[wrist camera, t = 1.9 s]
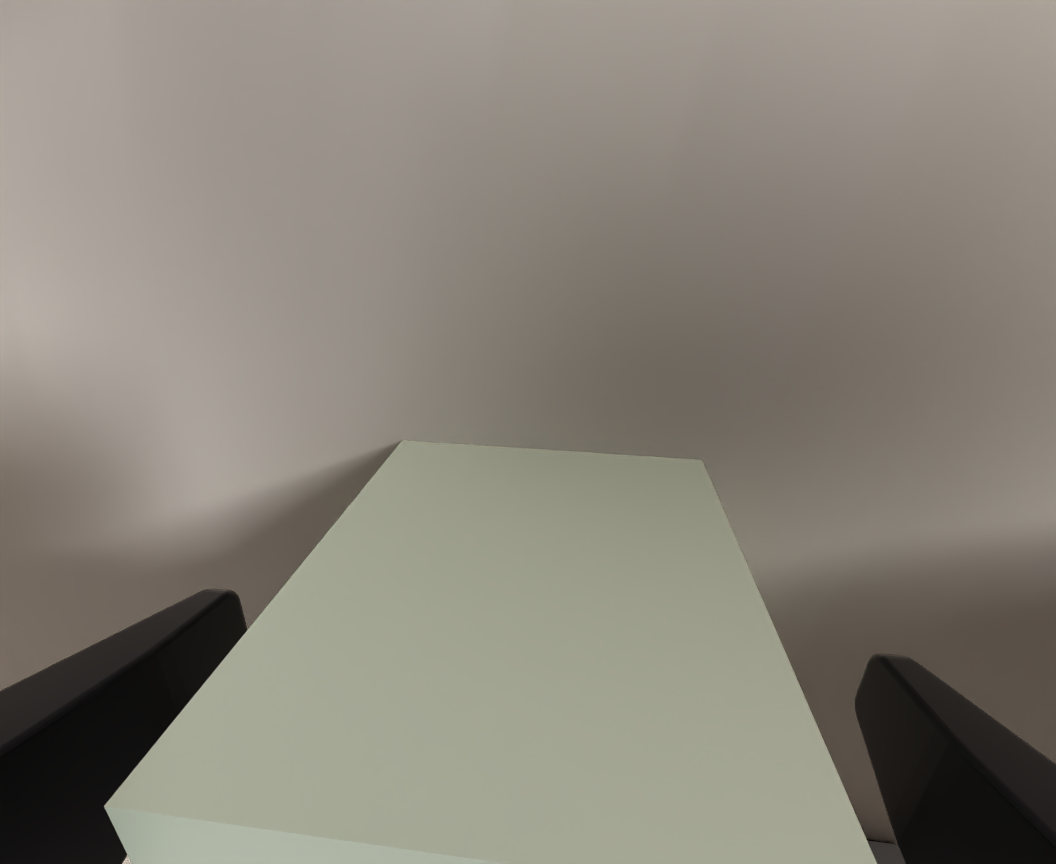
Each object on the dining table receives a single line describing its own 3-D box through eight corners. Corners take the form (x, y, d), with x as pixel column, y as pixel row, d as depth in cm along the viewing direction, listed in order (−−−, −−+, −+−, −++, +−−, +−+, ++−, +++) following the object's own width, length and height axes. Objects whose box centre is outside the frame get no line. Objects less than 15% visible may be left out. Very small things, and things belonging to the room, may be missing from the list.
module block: (701, 459, 8) (901, 920, 3) (670, 644, 10) (764, 1167, 5) (402, 439, 9) (104, 806, 3) (418, 619, 11) (229, 1065, 5)
